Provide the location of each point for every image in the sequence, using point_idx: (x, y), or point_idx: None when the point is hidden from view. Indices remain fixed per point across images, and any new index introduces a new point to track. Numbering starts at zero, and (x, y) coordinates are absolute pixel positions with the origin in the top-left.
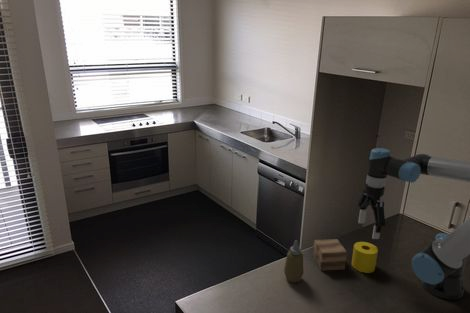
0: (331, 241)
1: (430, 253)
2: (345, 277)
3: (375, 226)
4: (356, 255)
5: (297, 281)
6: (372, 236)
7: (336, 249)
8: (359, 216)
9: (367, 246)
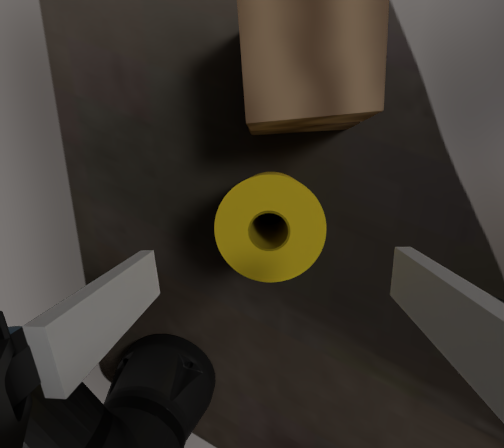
0: (359, 64)
1: None
2: (204, 121)
3: (46, 318)
4: (250, 177)
5: None
6: (142, 255)
7: (271, 69)
8: (449, 276)
9: (281, 244)
